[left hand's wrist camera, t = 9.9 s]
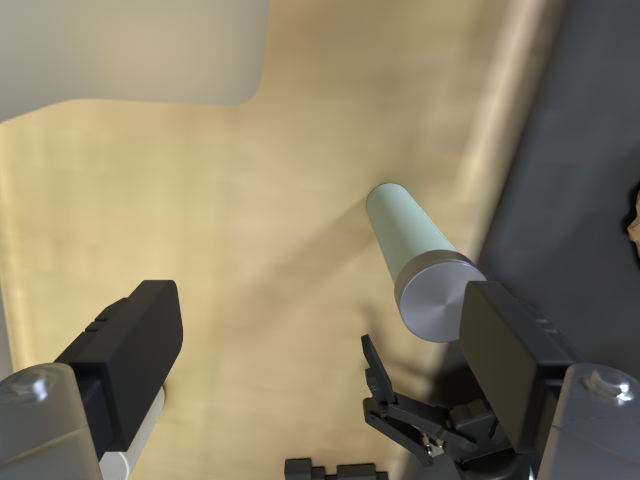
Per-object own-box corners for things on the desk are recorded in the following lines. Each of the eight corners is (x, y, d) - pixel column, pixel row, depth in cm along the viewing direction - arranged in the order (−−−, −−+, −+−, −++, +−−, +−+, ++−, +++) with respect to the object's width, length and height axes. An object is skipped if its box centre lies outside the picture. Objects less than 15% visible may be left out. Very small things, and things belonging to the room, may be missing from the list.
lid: (470, 237, 22) (483, 250, 21) (486, 311, 24) (499, 328, 22) (384, 263, 23) (389, 277, 21) (405, 333, 25) (411, 352, 23)
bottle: (404, 177, 39) (476, 253, 21) (415, 218, 41) (490, 322, 23) (360, 191, 40) (394, 277, 22) (372, 231, 41) (413, 343, 23)
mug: (81, 338, 46) (18, 405, 36) (153, 334, 46) (108, 401, 36) (107, 418, 50) (56, 498, 40) (172, 415, 50) (137, 494, 40)
